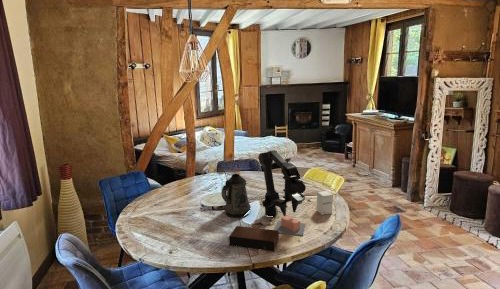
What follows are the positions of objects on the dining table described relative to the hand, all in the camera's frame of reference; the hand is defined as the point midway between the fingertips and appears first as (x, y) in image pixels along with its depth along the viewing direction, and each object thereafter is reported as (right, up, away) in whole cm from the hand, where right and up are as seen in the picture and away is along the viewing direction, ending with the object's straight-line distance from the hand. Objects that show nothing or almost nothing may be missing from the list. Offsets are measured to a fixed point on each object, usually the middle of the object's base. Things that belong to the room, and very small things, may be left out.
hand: (289, 214), depth 188 cm
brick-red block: (-2, -4, +4) cm, 6 cm away
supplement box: (+24, -3, +22) cm, 33 cm away
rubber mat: (0, -8, +1) cm, 8 cm away
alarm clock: (-20, -12, -14) cm, 28 cm away
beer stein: (-30, -4, +22) cm, 37 cm away
